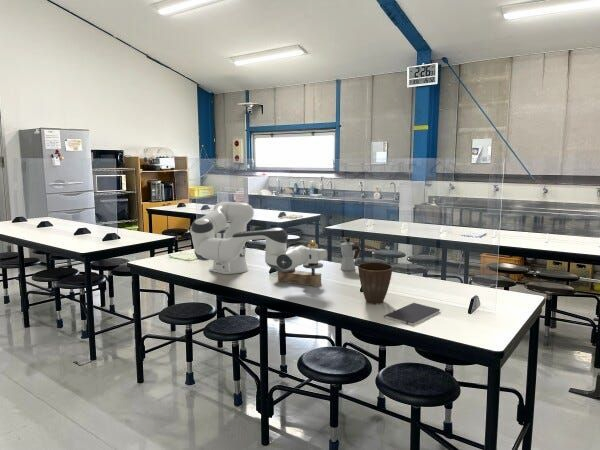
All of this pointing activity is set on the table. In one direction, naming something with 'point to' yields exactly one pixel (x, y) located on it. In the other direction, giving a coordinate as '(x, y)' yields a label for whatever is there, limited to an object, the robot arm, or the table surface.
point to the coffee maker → (348, 255)
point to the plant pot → (375, 281)
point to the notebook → (412, 313)
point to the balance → (301, 275)
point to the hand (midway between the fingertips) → (313, 249)
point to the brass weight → (315, 246)
